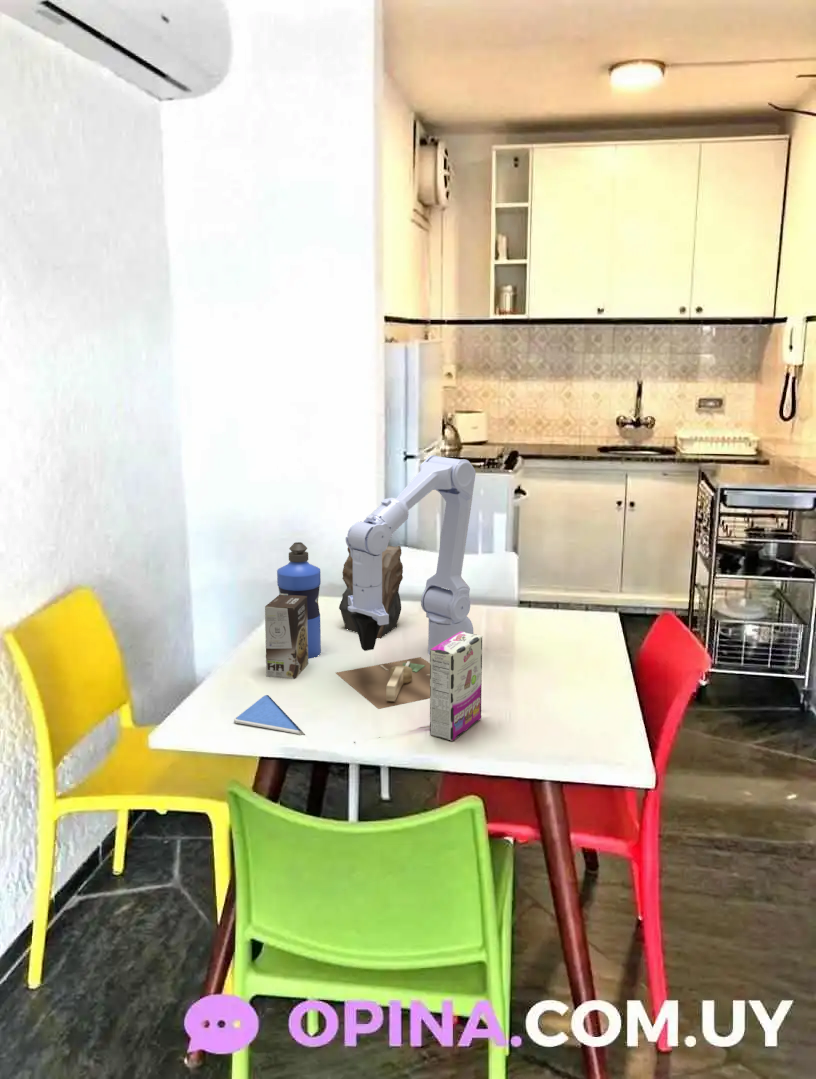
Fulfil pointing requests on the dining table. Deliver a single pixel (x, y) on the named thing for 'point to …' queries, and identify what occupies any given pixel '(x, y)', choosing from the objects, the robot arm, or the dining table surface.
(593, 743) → the dining table surface
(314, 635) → the water bottle
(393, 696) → the dial lever
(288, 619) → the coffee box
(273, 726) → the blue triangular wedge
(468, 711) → the candy bar box
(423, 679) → the dial board
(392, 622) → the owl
